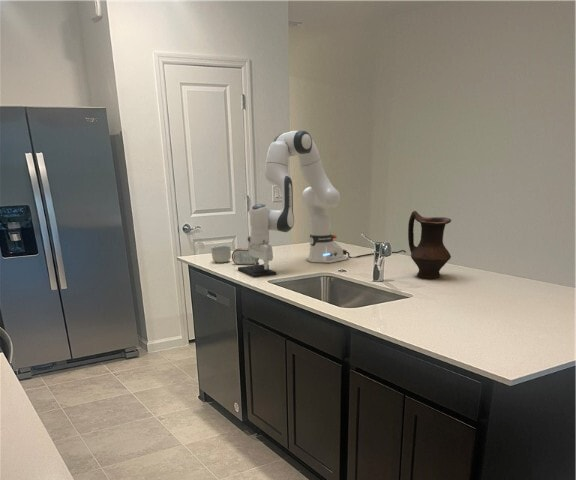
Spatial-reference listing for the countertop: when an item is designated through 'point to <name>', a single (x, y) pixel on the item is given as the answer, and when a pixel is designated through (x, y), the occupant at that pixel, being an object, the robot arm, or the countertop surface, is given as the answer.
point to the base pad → (245, 269)
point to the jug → (428, 245)
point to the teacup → (221, 253)
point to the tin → (242, 257)
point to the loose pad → (260, 271)
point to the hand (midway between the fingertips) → (261, 267)
